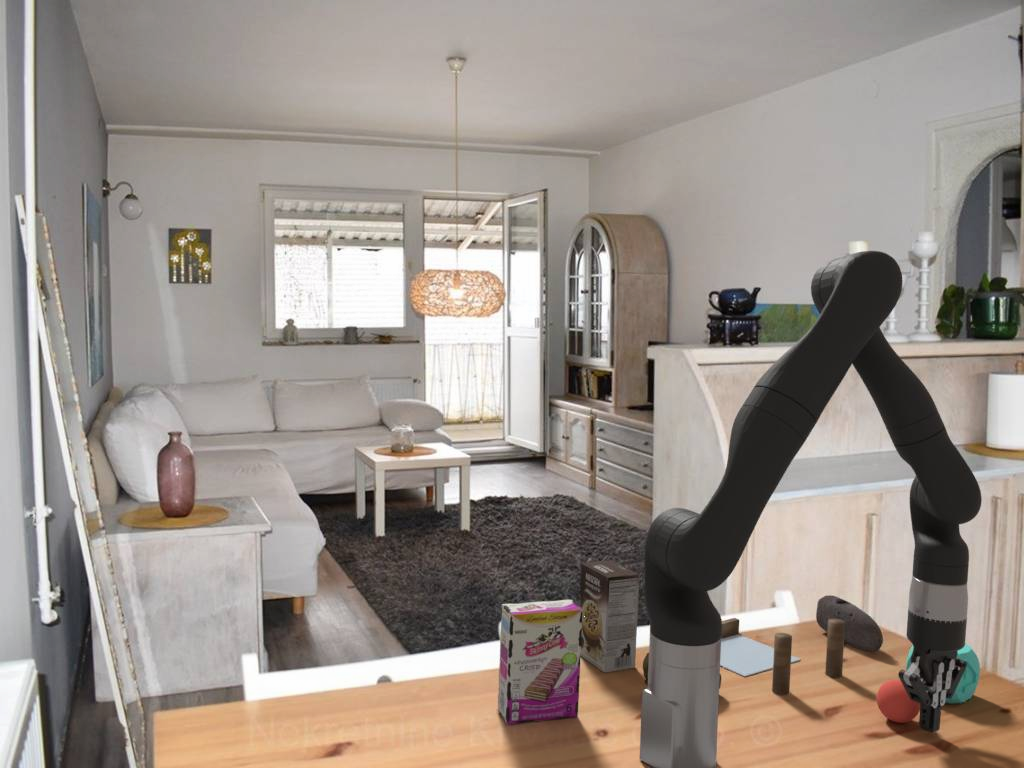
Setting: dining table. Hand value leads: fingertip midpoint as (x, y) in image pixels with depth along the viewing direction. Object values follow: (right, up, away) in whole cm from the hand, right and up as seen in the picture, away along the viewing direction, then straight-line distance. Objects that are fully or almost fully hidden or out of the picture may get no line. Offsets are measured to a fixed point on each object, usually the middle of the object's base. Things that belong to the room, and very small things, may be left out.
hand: (929, 729), depth 132 cm
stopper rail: (-24, +3, +37) cm, 44 cm away
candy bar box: (-55, 0, +4) cm, 55 cm away
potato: (-33, 0, +11) cm, 35 cm away
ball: (-2, +2, +5) cm, 6 cm away
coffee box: (-43, +2, +26) cm, 50 cm away
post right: (-6, +1, +22) cm, 23 cm away
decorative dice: (+9, 0, +15) cm, 17 cm away
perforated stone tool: (+2, +2, +37) cm, 37 cm away
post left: (-17, +1, +14) cm, 22 cm away
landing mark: (-19, +2, +30) cm, 35 cm away
